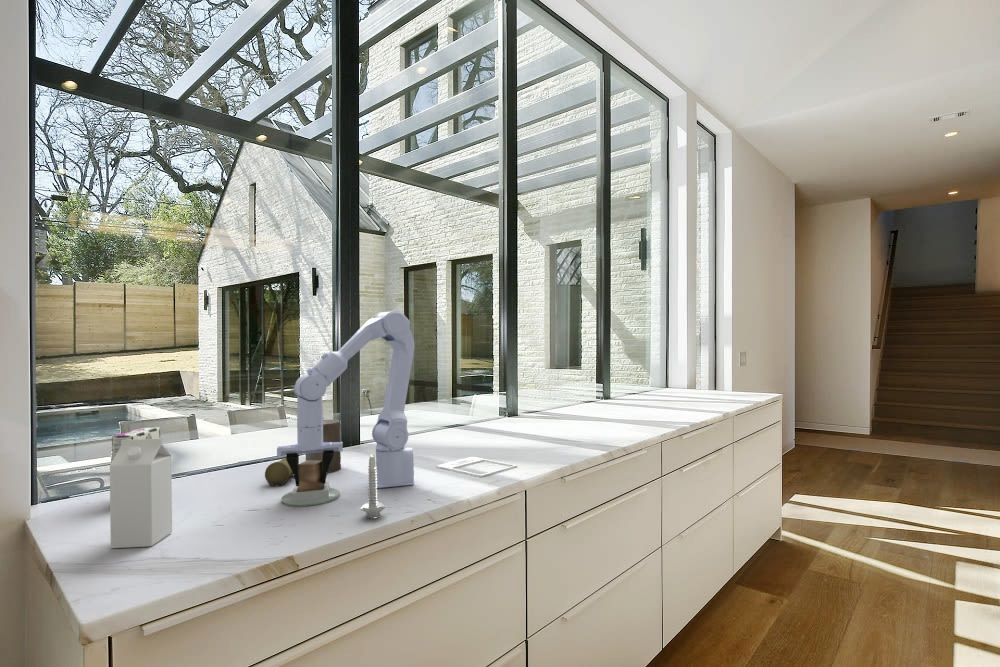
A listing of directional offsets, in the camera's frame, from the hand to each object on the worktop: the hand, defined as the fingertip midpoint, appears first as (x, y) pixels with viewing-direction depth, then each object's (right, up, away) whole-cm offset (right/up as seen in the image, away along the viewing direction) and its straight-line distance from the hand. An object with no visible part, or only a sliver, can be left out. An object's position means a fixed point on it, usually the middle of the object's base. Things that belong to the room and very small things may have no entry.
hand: (311, 484), depth 126 cm
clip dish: (0, -3, 0) cm, 3 cm away
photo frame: (+38, -3, +27) cm, 47 cm away
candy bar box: (-41, -4, 0) cm, 41 cm away
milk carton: (-22, -4, -26) cm, 34 cm away
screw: (+18, -3, -14) cm, 23 cm away
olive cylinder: (-13, -1, +11) cm, 17 cm away
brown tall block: (0, -2, 0) cm, 2 cm away
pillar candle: (-6, -4, +27) cm, 28 cm away
